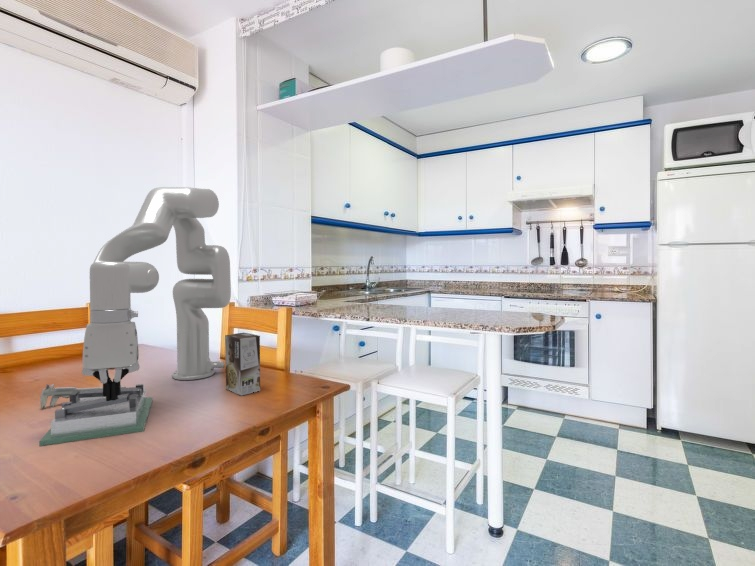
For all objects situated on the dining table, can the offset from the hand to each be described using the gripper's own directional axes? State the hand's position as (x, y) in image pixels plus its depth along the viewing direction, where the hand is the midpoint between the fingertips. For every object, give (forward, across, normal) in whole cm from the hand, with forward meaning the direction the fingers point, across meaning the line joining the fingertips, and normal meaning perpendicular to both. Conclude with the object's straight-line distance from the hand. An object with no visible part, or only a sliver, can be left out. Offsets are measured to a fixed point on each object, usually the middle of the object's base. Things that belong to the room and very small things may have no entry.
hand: (111, 398), depth 90 cm
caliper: (+6, +9, -25) cm, 27 cm away
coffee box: (+6, -30, -16) cm, 34 cm away
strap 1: (+2, +3, -1) cm, 4 cm away
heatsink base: (+6, +2, -5) cm, 8 cm away
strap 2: (+2, +2, -10) cm, 10 cm away
